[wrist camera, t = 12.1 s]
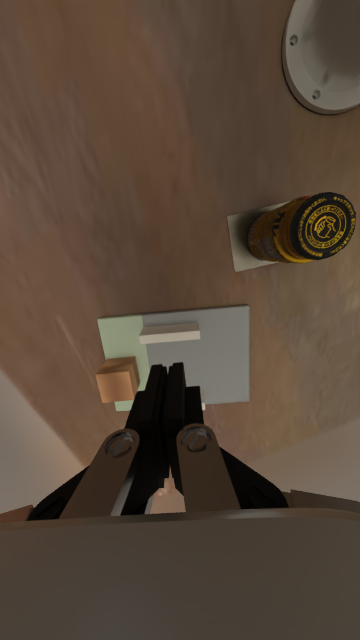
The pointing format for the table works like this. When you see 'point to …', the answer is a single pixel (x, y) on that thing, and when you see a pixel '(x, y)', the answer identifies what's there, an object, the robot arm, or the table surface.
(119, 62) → the table surface
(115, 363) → the block
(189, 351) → the channel board
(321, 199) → the condiment
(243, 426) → the table surface
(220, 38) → the table surface
